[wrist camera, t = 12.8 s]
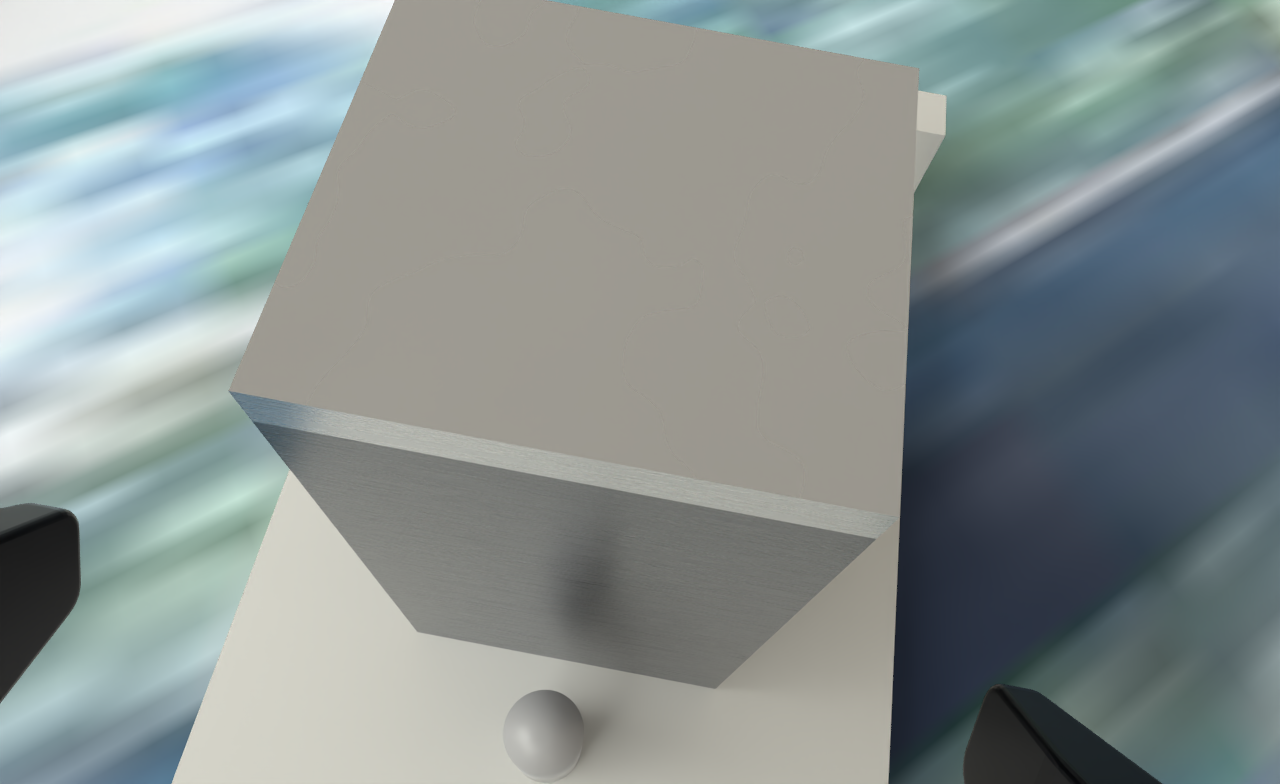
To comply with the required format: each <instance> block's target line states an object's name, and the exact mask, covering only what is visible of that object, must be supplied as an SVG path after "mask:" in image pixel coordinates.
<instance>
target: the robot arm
mask: <svg viewBox="0 0 1280 784" xmlns="http://www.w3.org/2000/svg"><path fill="white" fill-rule="evenodd" d="M80 586H81V571H80V538H79V523H78V520H77V518H76V516H75V515H74V514H73V513H72V512H71V511H69V510H66V509H62V508H57V507H51V506H46V505H41V504H35V503H25V504H19V505H14V506H9V507H5V508H0V703H1V702H2V700H3V699H4V698H5V696H6V695H7V694H8V693H9V691H10V690H11V689H12V687H13V686H14V685H15V683H16V682H17V681H18V680H19V678H20V677H21V676H22V674H23V673H24V672H25V671H26V669H27V668H28V667H29V665H30V664H31V663H32V662H33V660H34V659H35V658H36V656H37V655H38V654H39V652H40V651H41V650H42V649H43V647H44V646H45V645H46V643H47V642H48V641H49V640H50V638H51V637H52V636H53V634H54V633H55V632H56V631H57V629H58V628H59V627H60V625H61V624H62V623H63V621H64V620H65V619H66V618H67V616H68V615H69V614H70V612H71V611H72V609H73V607H74V606H75V604H76V602H77V599H78V596H79V592H80ZM963 776H964V783H965V784H1162V783H1161V782H1159V781H1158V780H1157V779H1155V778H1154V777H1153V776H1151V775H1150V774H1149V773H1147V772H1146V771H1145V770H1143V769H1142V768H1140V767H1139V766H1138V765H1136V764H1135V763H1134V762H1132V761H1131V760H1130V759H1128V758H1127V757H1126V756H1124V755H1123V754H1122V753H1120V752H1119V751H1118V750H1116V749H1115V748H1114V747H1112V746H1111V745H1109V744H1108V743H1107V742H1105V741H1104V740H1103V739H1101V738H1100V737H1099V736H1097V735H1096V734H1095V733H1093V732H1092V731H1091V730H1089V729H1088V728H1087V727H1085V726H1084V725H1082V724H1081V723H1080V722H1078V721H1077V720H1076V719H1074V718H1073V717H1072V716H1070V715H1069V714H1068V713H1066V712H1065V711H1064V710H1062V709H1061V708H1060V707H1058V706H1057V705H1056V704H1054V703H1053V702H1051V701H1050V700H1049V699H1047V698H1046V697H1045V696H1043V695H1042V694H1041V693H1039V692H1037V691H1034V690H1031V689H1026V688H1020V687H1015V686H1010V685H1004V684H996V685H994V686H993V687H991V688H990V689H989V690H988V692H987V693H986V695H985V697H984V700H983V703H982V706H981V708H980V711H979V714H978V717H977V720H976V723H975V725H974V728H973V731H972V734H971V737H970V740H969V742H968V745H967V748H966V751H965V756H964V763H963Z"/></svg>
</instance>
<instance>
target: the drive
mask: <svg viewBox="0 0 1280 784" xmlns="http://www.w3.org/2000/svg"><path fill="white" fill-rule="evenodd" d="M918 83H919V68H914V67H908V66H903V65H897V64H892V63H886V62H881V61H875V60H870V59H864V58H859V57H854V56H848V55H843V54H837V53H832V52H826V51H821V50H815V49H810V48H804V47H799V46H793V45H788V44H782V43H777V42H771V41H766V40H760V39H755V38H750V37H744V36H739V35H733V34H728V33H722V32H717V31H711V30H706V29H700V28H695V27H689V26H684V25H678V24H673V23H667V22H662V21H656V20H651V19H646V18H640V17H635V16H629V15H624V14H618V13H613V12H607V11H602V10H596V9H591V8H585V7H580V6H574V5H569V4H563V3H558V2H552V1H547V0H395V1H394V4H393V6H392V9H391V11H390V13H389V16H388V18H387V20H386V23H385V25H384V27H383V30H382V32H381V34H380V37H379V39H378V41H377V44H376V46H375V48H374V51H373V53H372V55H371V58H370V60H369V62H368V65H367V67H366V70H365V72H364V74H363V77H362V79H361V81H360V84H359V86H358V88H357V91H356V93H355V95H354V98H353V100H352V102H351V105H350V107H349V109H348V112H347V114H346V116H345V119H344V121H343V123H342V126H341V128H340V130H339V133H338V135H337V138H336V140H335V142H334V145H333V147H332V149H331V152H330V154H329V156H328V159H327V161H326V163H325V166H324V168H323V170H322V173H321V175H320V177H319V180H318V182H317V184H316V187H315V189H314V191H313V194H312V196H311V199H310V201H309V203H308V206H307V208H306V210H305V213H304V215H303V217H302V220H301V222H300V224H299V227H298V229H297V231H296V234H295V236H294V238H293V241H292V243H291V245H290V248H289V250H288V252H287V255H286V257H285V260H284V262H283V264H282V267H281V269H280V271H279V274H278V276H277V278H276V281H275V283H274V285H273V288H272V290H271V292H270V295H269V297H268V299H267V302H266V304H265V306H264V309H263V311H262V313H261V316H260V318H259V321H258V323H257V325H256V328H255V330H254V332H253V335H252V337H251V339H250V342H249V344H248V346H247V349H246V351H245V353H244V356H243V358H242V360H241V363H240V365H239V367H238V370H237V372H236V374H235V377H234V379H233V381H232V384H231V386H230V389H229V392H230V393H231V395H232V396H233V397H234V399H235V400H236V401H237V402H238V404H239V405H240V406H241V407H242V409H243V410H244V411H245V413H246V414H247V415H248V416H249V418H250V419H251V420H252V422H253V423H254V424H255V425H256V427H257V428H258V429H259V430H260V432H261V433H262V434H263V436H264V437H265V438H266V439H267V441H268V442H269V443H270V444H271V446H272V447H273V448H274V450H275V451H276V452H277V453H278V455H279V456H280V457H281V459H282V460H283V461H284V462H285V464H286V465H287V466H288V467H289V469H290V470H291V471H292V473H293V474H294V475H295V476H296V478H297V479H298V480H299V482H300V483H301V484H302V485H303V487H304V488H305V489H306V490H307V492H308V493H309V494H310V496H311V497H312V498H313V499H314V501H315V502H316V503H317V504H318V506H319V507H320V508H321V510H322V511H323V512H324V513H325V515H326V516H327V517H328V519H329V520H330V521H331V522H332V524H333V525H334V526H335V527H336V529H337V530H338V531H339V533H340V534H341V535H342V536H343V538H344V539H345V540H346V541H347V543H348V544H349V545H350V547H351V548H352V549H353V550H354V552H355V553H356V554H357V556H358V557H359V558H360V559H361V561H362V562H363V563H364V564H365V566H366V567H367V568H368V570H369V571H370V572H371V573H372V575H373V576H374V577H375V579H376V580H377V581H378V582H379V584H380V585H381V586H382V587H383V589H384V590H385V591H386V593H387V594H388V595H389V596H390V598H391V599H392V600H393V601H394V603H395V604H396V605H397V607H398V608H399V609H400V610H401V612H402V613H403V614H404V616H405V617H406V618H407V619H408V621H409V622H410V623H411V624H412V626H413V627H414V628H415V630H416V631H417V632H420V633H425V634H430V635H435V636H441V637H446V638H451V639H456V640H462V641H467V642H472V643H477V644H483V645H488V646H493V647H498V648H503V649H509V650H514V651H519V652H524V653H530V654H535V655H540V656H545V657H551V658H556V659H561V660H566V661H572V662H577V663H582V664H587V665H592V666H598V667H603V668H608V669H613V670H619V671H624V672H629V673H634V674H640V675H645V676H650V677H655V678H661V679H666V680H671V681H676V682H681V683H687V684H692V685H697V686H702V687H708V688H713V689H716V688H717V687H718V686H719V685H720V684H721V683H722V682H723V681H724V680H725V679H727V678H728V677H729V676H730V675H731V674H732V673H733V672H734V671H735V670H736V669H737V668H738V667H739V666H741V665H742V664H743V663H744V662H745V661H746V660H747V659H748V658H749V657H750V656H751V655H752V654H753V653H754V652H756V651H757V650H758V649H759V648H760V647H761V646H762V645H763V644H764V643H765V642H766V641H767V640H768V639H770V638H771V637H772V636H773V635H774V634H775V633H776V632H777V631H778V630H779V629H780V628H781V627H782V626H784V625H785V624H786V623H787V622H788V621H789V620H790V619H791V618H792V617H793V616H794V615H795V614H796V613H798V612H799V611H800V610H801V609H802V608H803V607H804V606H805V605H806V604H807V603H808V602H809V601H810V600H811V599H813V598H814V597H815V596H816V595H817V594H818V593H819V592H820V591H821V590H822V589H823V588H824V587H825V586H827V585H828V584H829V583H830V582H831V581H832V580H833V579H834V578H835V577H836V576H837V575H838V574H839V573H841V572H842V571H843V570H844V569H845V568H846V567H847V566H848V565H849V564H850V563H851V562H852V561H853V560H854V559H856V558H857V557H858V556H859V555H860V554H861V553H862V552H863V551H864V550H865V549H866V548H867V547H868V546H870V545H871V544H872V543H873V542H874V541H875V540H876V539H877V538H878V537H879V536H880V535H881V534H882V533H884V532H885V531H886V530H887V529H888V528H889V527H890V526H891V525H892V524H893V523H894V522H895V521H896V520H897V519H899V518H900V500H901V477H902V454H903V431H904V408H905V384H906V361H907V338H908V315H909V291H910V268H911V245H912V222H913V199H914V175H915V152H916V129H917V106H918Z"/></svg>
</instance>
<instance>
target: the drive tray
mask: <svg viewBox="0 0 1280 784" xmlns="http://www.w3.org/2000/svg"><path fill="white" fill-rule="evenodd" d="M945 131H946V96H945V95H939V94H934V93H928V92H923V91H918V106H917V129H916V152H915V175H914V192H915V190H916V188H917V187H918V185H919V183H920V181H921V179H922V177H923V176H924V174H925V172H926V170H927V168H928V166H929V165H930V163H931V161H932V159H933V157H934V155H935V154H936V152H937V150H938V148H939V146H940V145H941V143H942V141H943V139H944V137H945ZM913 203H914V199H913ZM912 226H913V222H912ZM911 249H912V245H911ZM910 272H911V268H910ZM909 295H910V291H909ZM908 319H909V315H908ZM907 342H908V338H907ZM906 365H907V361H906ZM905 388H906V384H905ZM904 411H905V408H904ZM903 434H904V431H903ZM902 457H903V454H902ZM901 480H902V477H901ZM900 503H901V500H900ZM899 526H900V518H899V519H897V520H896V521H895V522H894V523H893V524H892V525H891V526H890V527H889V528H888V529H887V530H886V531H885V532H884V533H882V534H881V535H880V536H879V537H878V538H877V539H876V540H875V541H874V542H873V543H872V544H871V545H870V546H868V547H867V548H866V549H865V550H864V551H863V552H862V553H861V554H860V555H859V556H858V557H857V558H856V559H854V560H853V561H852V562H851V563H850V564H849V565H848V566H847V567H846V568H845V569H844V570H843V571H842V572H841V573H839V574H838V575H837V576H836V577H835V578H834V579H833V580H832V581H831V582H830V583H829V584H828V585H827V586H825V587H824V588H823V589H822V590H821V591H820V592H819V593H818V594H817V595H816V596H815V597H814V598H813V599H811V600H810V601H809V602H808V603H807V604H806V605H805V606H804V607H803V608H802V609H801V610H800V611H799V612H798V613H796V614H795V615H794V616H793V617H792V618H791V619H790V620H789V621H788V622H787V623H786V624H785V625H784V626H782V627H781V628H780V629H779V630H778V631H777V632H776V633H775V634H774V635H773V636H772V637H771V638H770V639H768V640H767V641H766V642H765V643H764V644H763V645H762V646H761V647H760V648H759V649H758V650H757V651H756V652H754V653H753V654H752V655H751V656H750V657H749V658H748V659H747V660H746V661H745V662H744V663H743V664H742V665H741V666H739V667H738V668H737V669H736V670H735V671H734V672H733V673H732V674H731V675H730V676H729V677H728V678H727V679H725V680H724V681H723V682H722V683H721V684H720V685H719V686H718V687H717V688H716V689H713V688H708V687H702V686H697V685H692V684H687V683H681V682H676V681H671V680H666V679H661V678H655V677H650V676H645V675H640V674H634V673H629V672H624V671H619V670H613V669H608V668H603V667H598V666H592V665H587V664H582V663H577V662H572V661H566V660H561V659H556V658H551V657H545V656H540V655H535V654H530V653H524V652H519V651H514V650H509V649H503V648H498V647H493V646H488V645H483V644H477V643H472V642H467V641H462V640H456V639H451V638H446V637H441V636H435V635H430V634H425V633H420V632H417V631H416V630H415V628H414V627H413V626H412V624H411V623H410V622H409V621H408V619H407V618H406V617H405V616H404V614H403V613H402V612H401V610H400V609H399V608H398V607H397V605H396V604H395V603H394V601H393V600H392V599H391V598H390V596H389V595H388V594H387V593H386V591H385V590H384V589H383V587H382V586H381V585H380V584H379V582H378V581H377V580H376V579H375V577H374V576H373V575H372V573H371V572H370V571H369V570H368V568H367V567H366V566H365V564H364V563H363V562H362V561H361V559H360V558H359V557H358V556H357V554H356V553H355V552H354V550H353V549H352V548H351V547H350V545H349V544H348V543H347V541H346V540H345V539H344V538H343V536H342V535H341V534H340V533H339V531H338V530H337V529H336V527H335V526H334V525H333V524H332V522H331V521H330V520H329V519H328V517H327V516H326V515H325V513H324V512H323V511H322V510H321V508H320V507H319V506H318V504H317V503H316V502H315V501H314V499H313V498H312V497H311V496H310V494H309V493H308V492H307V490H306V489H305V488H304V487H303V485H302V484H301V483H300V482H299V480H298V479H297V478H296V476H295V475H294V474H293V473H292V471H291V470H289V472H288V475H287V478H286V480H285V483H284V486H283V488H282V491H281V494H280V496H279V499H278V502H277V504H276V507H275V510H274V512H273V515H272V518H271V520H270V523H269V526H268V528H267V531H266V534H265V536H264V539H263V542H262V544H261V547H260V550H259V552H258V555H257V558H256V560H255V563H254V566H253V568H252V571H251V574H250V576H249V579H248V582H247V584H246V587H245V590H244V592H243V595H242V598H241V600H240V603H239V606H238V608H237V611H236V614H235V616H234V619H233V622H232V624H231V627H230V630H229V632H228V635H227V638H226V640H225V643H224V646H223V648H222V651H221V654H220V656H219V659H218V662H217V664H216V667H215V670H214V672H213V675H212V678H211V680H210V683H209V685H208V688H207V691H206V693H205V696H204V699H203V701H202V704H201V707H200V709H199V712H198V715H197V717H196V720H195V723H194V725H193V728H192V731H191V733H190V736H189V739H188V741H187V744H186V747H185V749H184V752H183V755H182V757H181V760H180V763H179V765H178V768H177V771H176V773H175V776H174V779H173V781H172V784H888V780H889V757H890V734H891V710H892V687H893V664H894V641H895V618H896V595H897V572H898V549H899Z"/></svg>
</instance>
